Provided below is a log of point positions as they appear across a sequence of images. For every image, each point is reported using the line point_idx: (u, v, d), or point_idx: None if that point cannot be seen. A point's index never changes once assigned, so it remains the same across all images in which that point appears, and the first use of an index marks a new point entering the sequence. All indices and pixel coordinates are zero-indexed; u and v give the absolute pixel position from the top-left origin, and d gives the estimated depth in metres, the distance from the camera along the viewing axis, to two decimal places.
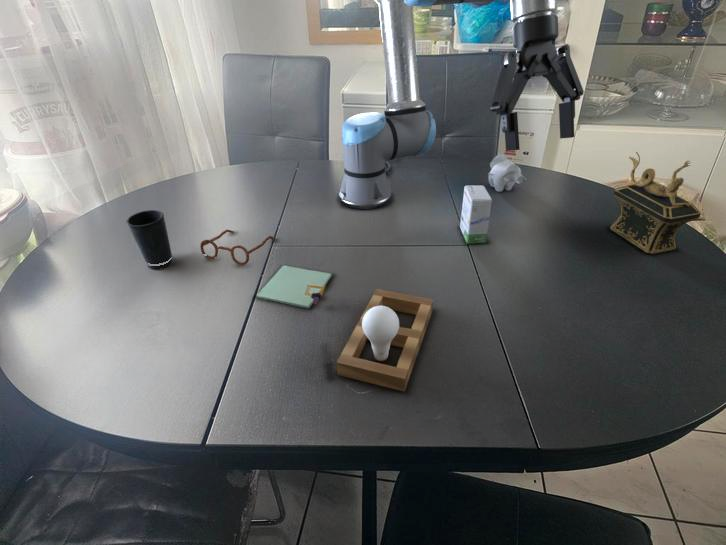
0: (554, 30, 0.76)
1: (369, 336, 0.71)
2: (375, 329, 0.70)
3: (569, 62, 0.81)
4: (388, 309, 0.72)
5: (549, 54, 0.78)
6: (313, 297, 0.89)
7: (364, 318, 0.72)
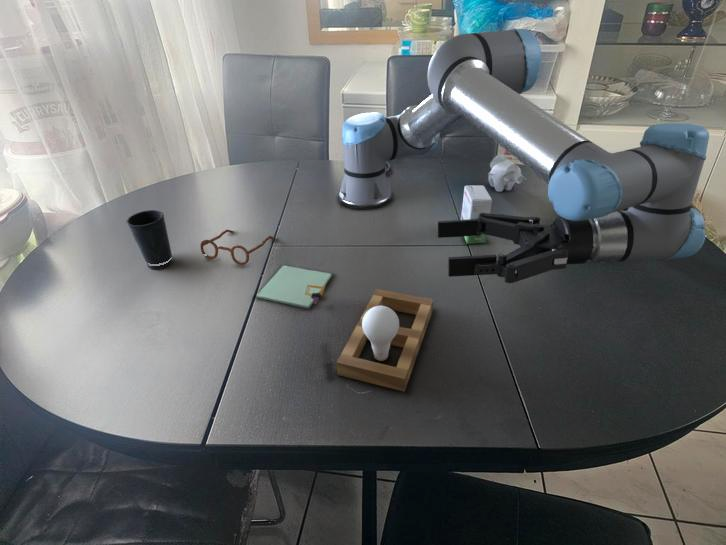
0: None
1: (369, 336, 0.71)
2: (375, 329, 0.70)
3: None
4: (388, 309, 0.72)
5: None
6: (313, 297, 0.89)
7: (364, 318, 0.72)
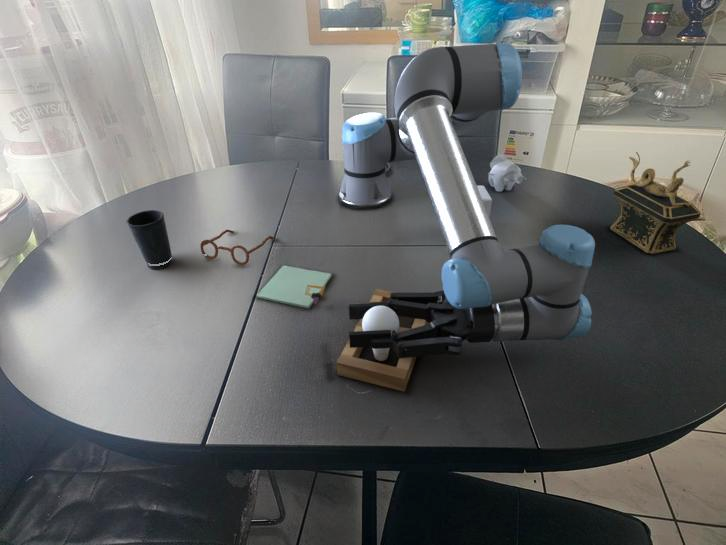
0: None
1: None
2: (375, 329, 0.70)
3: None
4: (388, 309, 0.72)
5: None
6: (313, 297, 0.89)
7: (364, 318, 0.72)
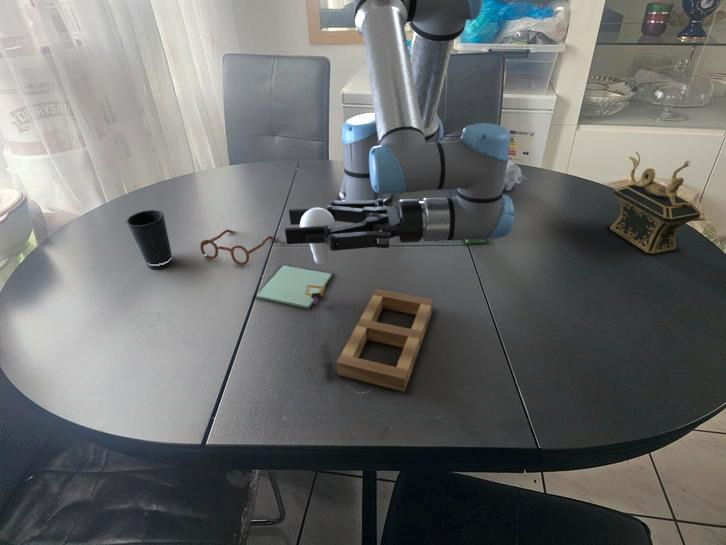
0: None
1: None
2: (310, 226, 0.74)
3: None
4: (324, 209, 0.76)
5: None
6: (313, 297, 0.89)
7: (301, 218, 0.76)
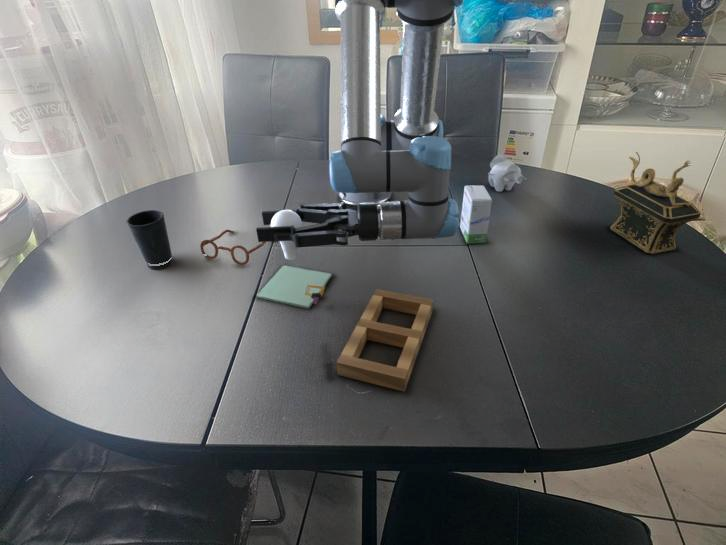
0: None
1: None
2: (279, 225, 0.85)
3: None
4: (291, 211, 0.86)
5: None
6: (313, 297, 0.89)
7: (272, 219, 0.87)
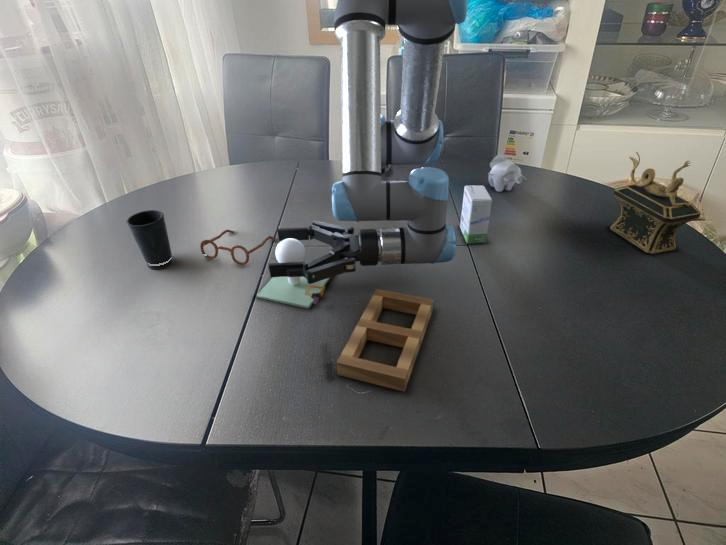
0: None
1: (280, 261, 0.89)
2: (283, 254, 0.88)
3: None
4: (295, 240, 0.90)
5: None
6: (313, 297, 0.89)
7: (276, 247, 0.90)
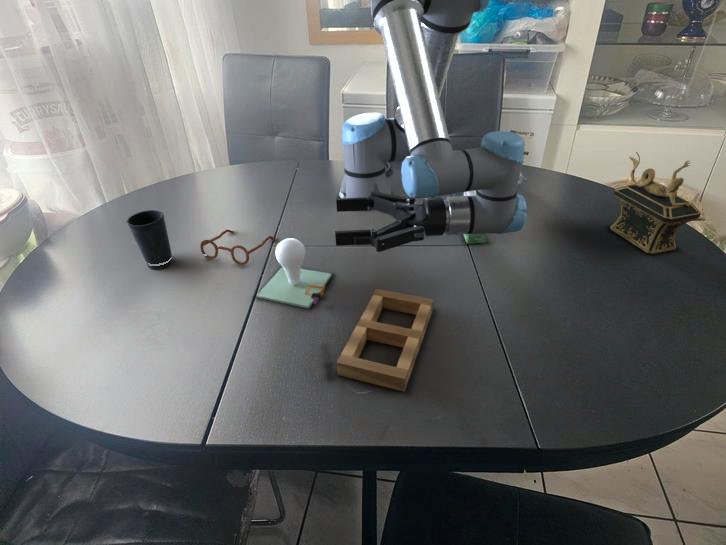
0: None
1: (280, 261, 0.89)
2: (283, 254, 0.88)
3: None
4: (295, 240, 0.90)
5: None
6: (313, 297, 0.89)
7: (276, 247, 0.90)
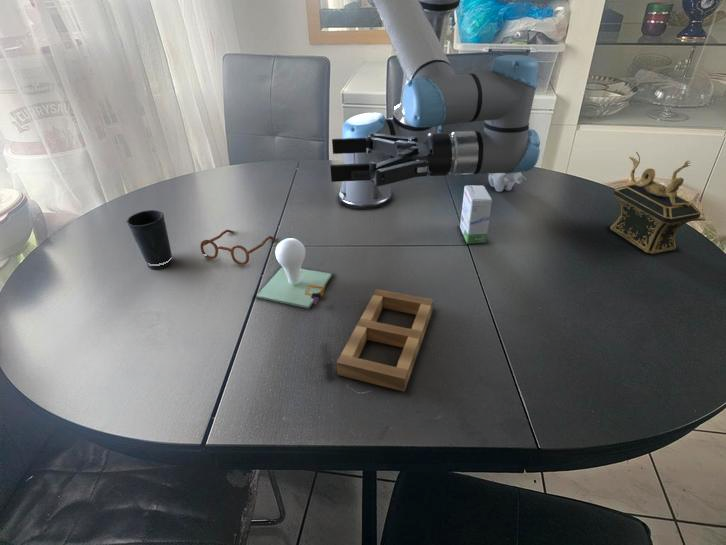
0: None
1: (280, 261, 0.89)
2: (283, 254, 0.88)
3: None
4: (295, 240, 0.90)
5: None
6: (313, 297, 0.89)
7: (276, 247, 0.90)
